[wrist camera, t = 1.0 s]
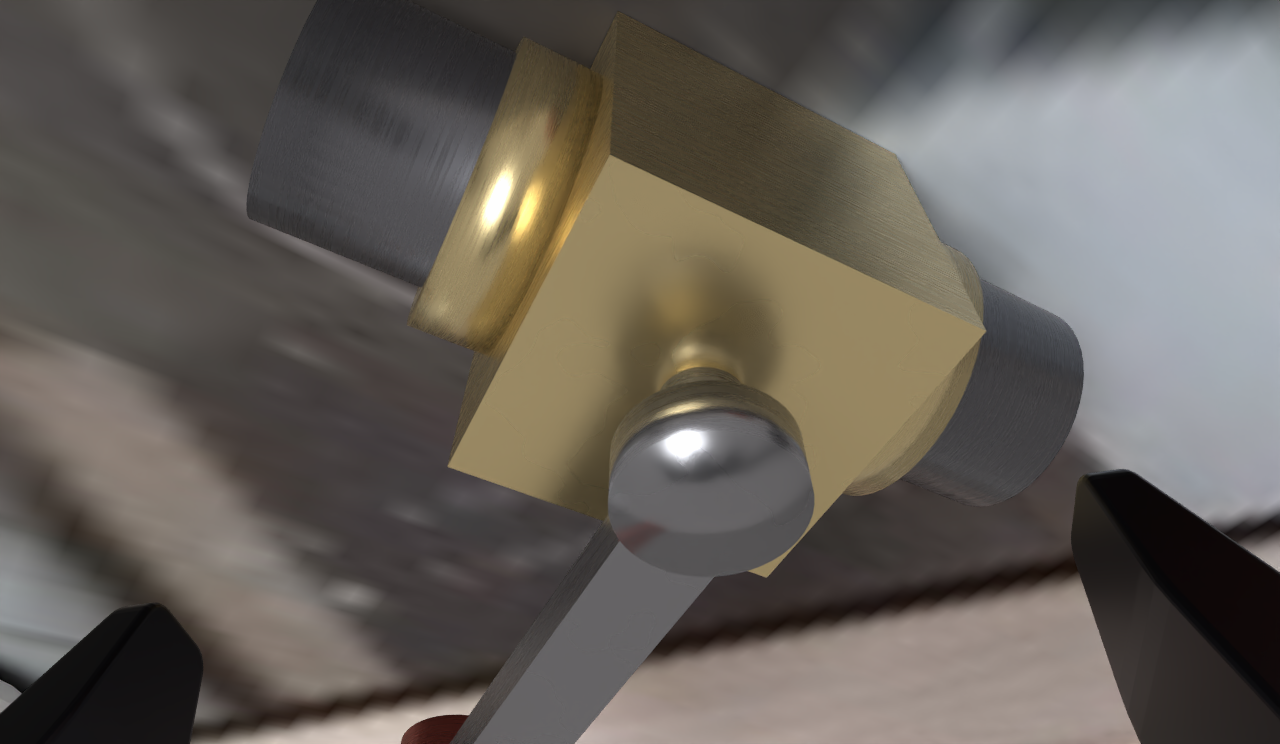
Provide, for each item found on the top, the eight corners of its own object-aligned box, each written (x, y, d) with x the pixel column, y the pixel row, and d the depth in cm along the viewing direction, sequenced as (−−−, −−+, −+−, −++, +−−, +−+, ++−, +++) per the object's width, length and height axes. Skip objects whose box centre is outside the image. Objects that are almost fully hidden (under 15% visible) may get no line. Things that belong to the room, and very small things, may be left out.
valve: (1063, 241, 23) (1239, 482, 16) (891, 436, 26) (975, 695, 20) (383, -111, 18) (235, 25, 11) (291, 187, 22) (140, 420, 15)
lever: (664, 311, 15) (669, 444, 12) (830, 381, 16) (867, 519, 13) (381, 763, 23) (349, 899, 21) (501, 793, 24) (485, 927, 22)
